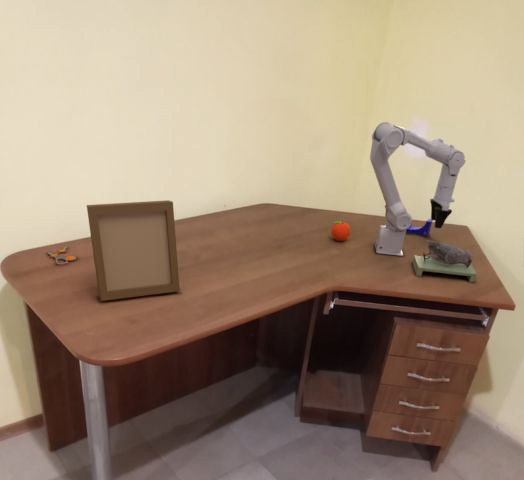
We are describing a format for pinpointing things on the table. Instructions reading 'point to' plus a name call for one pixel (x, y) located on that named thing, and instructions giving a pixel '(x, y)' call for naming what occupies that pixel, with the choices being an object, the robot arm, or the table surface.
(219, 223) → the table surface
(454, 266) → the shelf
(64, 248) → the key chain
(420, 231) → the blue curved piece
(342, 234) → the red tomato
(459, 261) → the bird
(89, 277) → the table surface
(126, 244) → the photo frame
